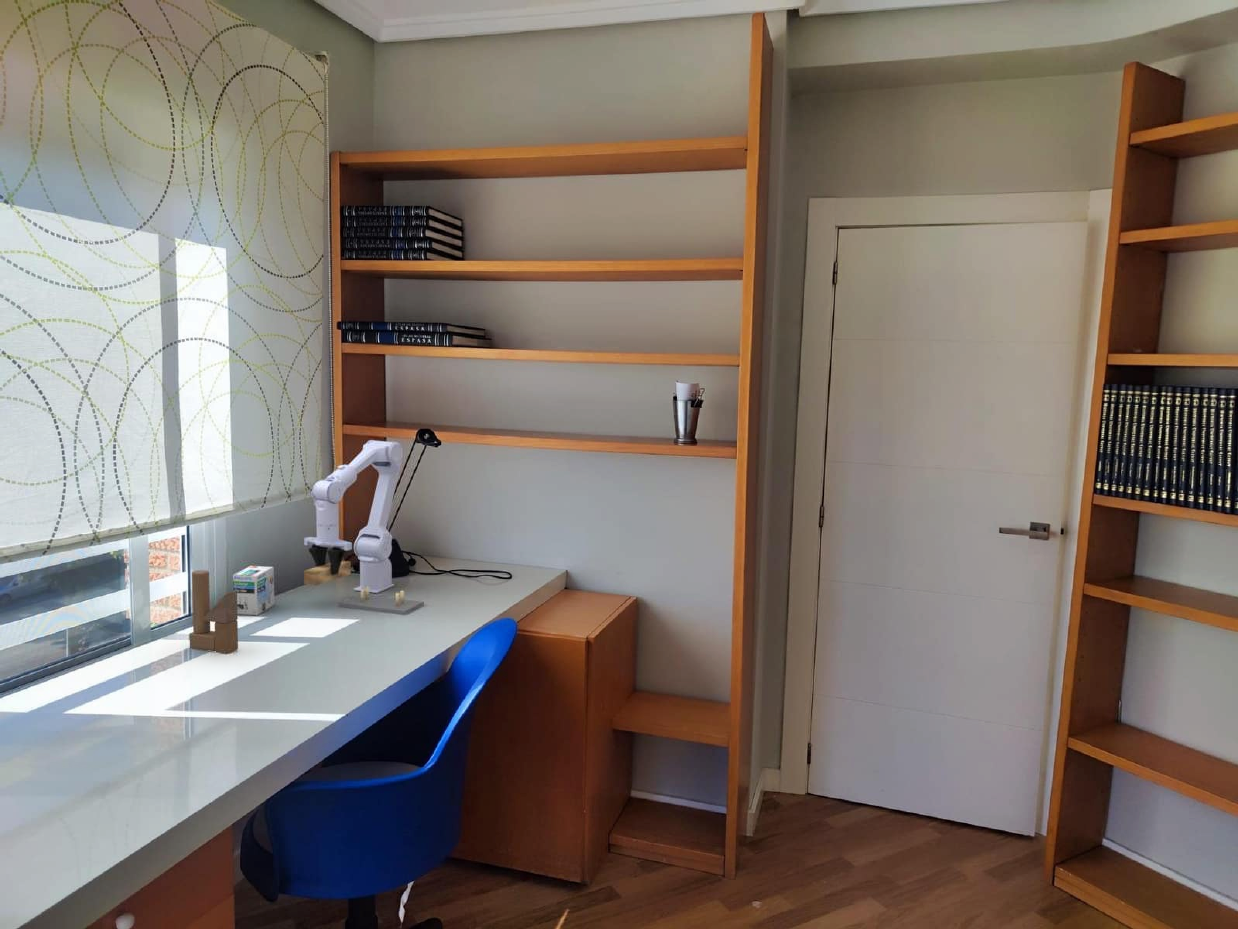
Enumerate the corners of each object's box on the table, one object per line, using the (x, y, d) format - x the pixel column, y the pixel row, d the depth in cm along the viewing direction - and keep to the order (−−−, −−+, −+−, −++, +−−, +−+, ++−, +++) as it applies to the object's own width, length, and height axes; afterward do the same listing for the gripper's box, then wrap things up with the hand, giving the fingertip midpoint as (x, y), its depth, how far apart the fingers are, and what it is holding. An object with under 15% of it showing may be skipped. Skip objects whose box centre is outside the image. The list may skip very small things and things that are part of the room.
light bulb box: (258, 616, 222) (257, 575, 221) (232, 615, 222) (231, 574, 221) (275, 604, 233) (274, 566, 231) (250, 603, 233) (250, 565, 232)
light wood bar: (338, 572, 240) (338, 560, 240) (350, 573, 239) (350, 561, 238) (304, 583, 227) (303, 570, 227) (316, 585, 226) (315, 572, 226)
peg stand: (361, 597, 242) (361, 582, 242) (423, 605, 236) (423, 589, 236) (340, 606, 233) (340, 590, 232) (404, 614, 227) (404, 598, 226)
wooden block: (227, 654, 193) (225, 577, 191) (189, 648, 196) (187, 572, 194) (239, 649, 196) (237, 573, 194) (201, 643, 199) (199, 568, 197)
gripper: (296, 524, 230) (296, 573, 232) (339, 529, 225) (339, 579, 227) (314, 520, 237) (314, 567, 238) (356, 525, 232) (356, 573, 233)
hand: (328, 573), depth 233 cm, fingers closed on light wood bar, 4 cm apart
